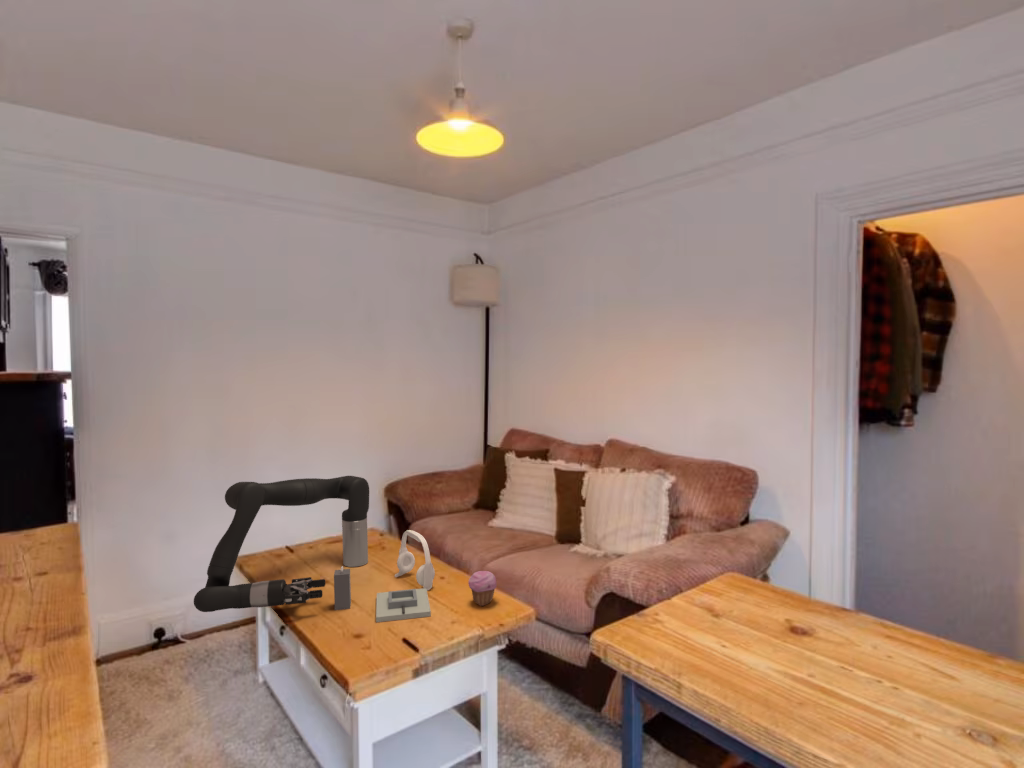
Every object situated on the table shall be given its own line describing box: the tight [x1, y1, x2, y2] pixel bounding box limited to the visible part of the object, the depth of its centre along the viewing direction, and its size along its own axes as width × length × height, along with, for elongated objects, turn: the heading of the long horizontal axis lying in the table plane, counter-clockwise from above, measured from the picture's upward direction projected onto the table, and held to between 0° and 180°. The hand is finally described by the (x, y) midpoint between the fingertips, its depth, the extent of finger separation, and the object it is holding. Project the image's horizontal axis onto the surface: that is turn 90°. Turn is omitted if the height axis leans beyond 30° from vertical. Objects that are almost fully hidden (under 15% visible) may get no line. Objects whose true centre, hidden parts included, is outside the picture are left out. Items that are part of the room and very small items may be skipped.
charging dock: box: [375, 587, 432, 623], centre depth 178 cm, size 18×16×4 cm
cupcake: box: [468, 570, 497, 607], centre depth 180 cm, size 9×9×10 cm
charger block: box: [333, 565, 352, 611], centre depth 179 cm, size 5×5×12 cm
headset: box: [394, 529, 436, 592], centre depth 197 cm, size 20×7×18 cm, turn 36°
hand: (323, 587), depth 178 cm, fingers open, 8 cm apart
